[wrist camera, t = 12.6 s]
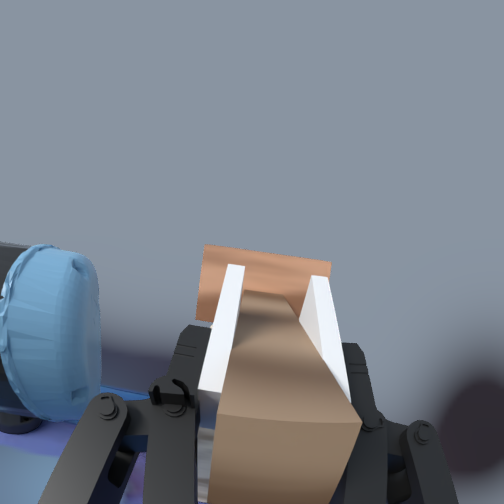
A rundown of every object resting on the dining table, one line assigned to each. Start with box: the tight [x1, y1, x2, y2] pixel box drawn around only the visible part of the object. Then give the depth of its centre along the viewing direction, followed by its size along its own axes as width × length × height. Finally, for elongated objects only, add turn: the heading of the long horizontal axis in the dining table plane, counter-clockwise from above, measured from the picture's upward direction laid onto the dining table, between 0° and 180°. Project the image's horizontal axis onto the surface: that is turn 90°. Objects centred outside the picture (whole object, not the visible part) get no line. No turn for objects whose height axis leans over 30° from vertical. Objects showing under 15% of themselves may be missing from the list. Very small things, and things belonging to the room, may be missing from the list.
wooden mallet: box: [196, 244, 362, 504], centre depth 16 cm, size 22×10×6 cm, turn 0°
